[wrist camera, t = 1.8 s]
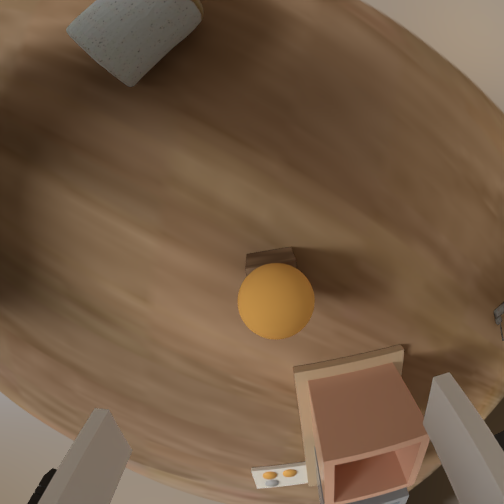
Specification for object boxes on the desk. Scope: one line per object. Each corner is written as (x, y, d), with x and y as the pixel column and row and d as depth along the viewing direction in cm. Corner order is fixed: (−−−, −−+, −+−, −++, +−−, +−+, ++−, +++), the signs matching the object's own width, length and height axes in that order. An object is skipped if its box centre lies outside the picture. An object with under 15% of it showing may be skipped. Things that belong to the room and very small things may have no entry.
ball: (246, 321, 24) (244, 359, 19) (233, 259, 22) (227, 286, 18) (311, 311, 24) (323, 347, 19) (304, 248, 22) (316, 272, 17)
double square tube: (307, 481, 35) (315, 544, 24) (292, 367, 29) (306, 455, 18) (383, 464, 34) (403, 523, 24) (400, 344, 28) (448, 417, 18)
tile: (257, 485, 35) (257, 489, 34) (251, 467, 34) (251, 472, 33) (307, 479, 35) (308, 483, 34) (305, 461, 33) (306, 466, 33)
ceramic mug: (217, 28, 21) (201, -18, 13) (144, 96, 22) (100, 74, 15) (141, -26, 19) (111, -68, 11) (78, 35, 20) (31, 8, 13)
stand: (254, 294, 27) (254, 314, 23) (246, 254, 26) (245, 268, 22) (296, 287, 27) (302, 306, 23) (291, 246, 26) (296, 260, 22)
